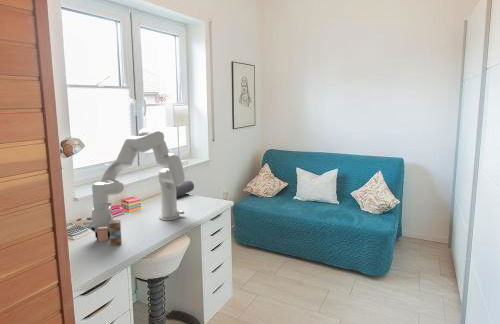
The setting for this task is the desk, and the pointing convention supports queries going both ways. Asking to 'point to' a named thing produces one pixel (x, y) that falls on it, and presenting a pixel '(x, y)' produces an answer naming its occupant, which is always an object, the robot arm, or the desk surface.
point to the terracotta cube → (102, 233)
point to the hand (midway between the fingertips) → (103, 237)
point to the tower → (115, 232)
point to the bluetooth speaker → (184, 188)
